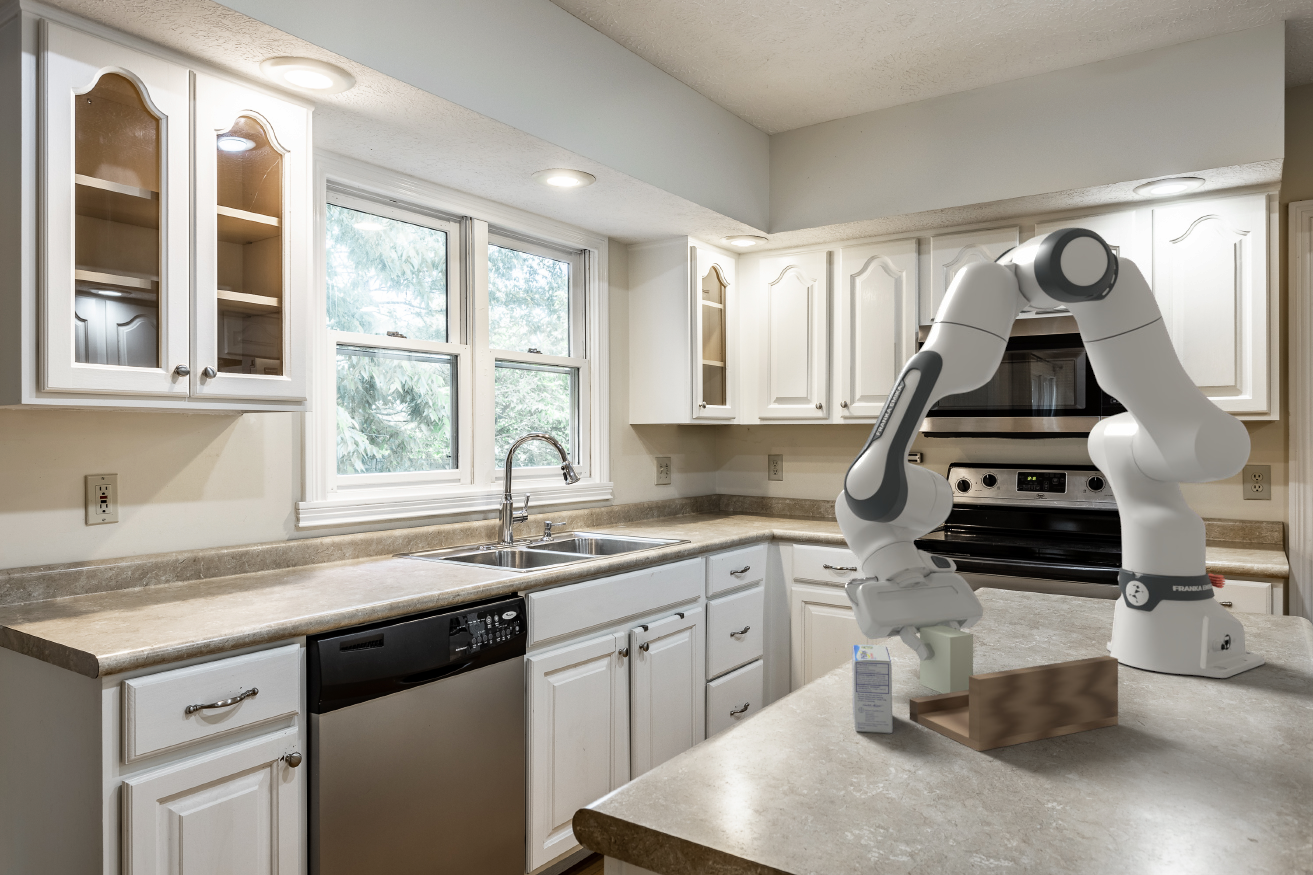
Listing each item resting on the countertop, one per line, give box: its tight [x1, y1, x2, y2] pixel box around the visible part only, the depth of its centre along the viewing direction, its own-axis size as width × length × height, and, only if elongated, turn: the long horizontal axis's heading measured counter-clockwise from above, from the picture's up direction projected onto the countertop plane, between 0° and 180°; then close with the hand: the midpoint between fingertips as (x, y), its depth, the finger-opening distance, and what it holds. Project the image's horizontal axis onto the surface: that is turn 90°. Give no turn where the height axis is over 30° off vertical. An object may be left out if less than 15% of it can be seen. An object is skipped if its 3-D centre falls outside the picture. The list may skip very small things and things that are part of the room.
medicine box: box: [851, 644, 894, 735], centre depth 102 cm, size 8×4×9 cm, turn 168°
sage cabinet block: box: [919, 625, 974, 694], centre depth 115 cm, size 4×6×8 cm, turn 23°
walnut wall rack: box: [909, 655, 1119, 752], centre depth 102 cm, size 22×12×8 cm, turn 113°
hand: (944, 656), depth 116 cm, fingers closed on sage cabinet block, 4 cm apart
